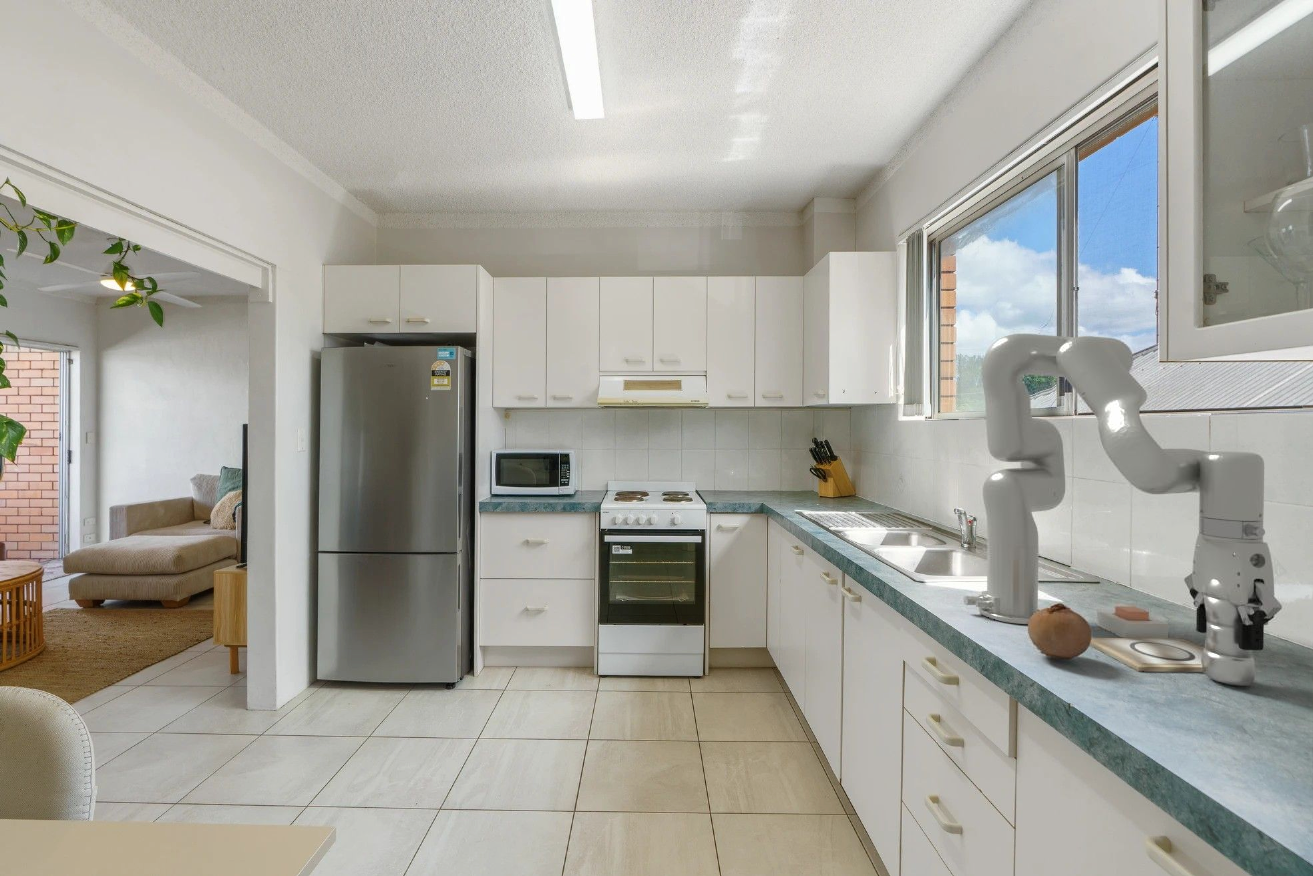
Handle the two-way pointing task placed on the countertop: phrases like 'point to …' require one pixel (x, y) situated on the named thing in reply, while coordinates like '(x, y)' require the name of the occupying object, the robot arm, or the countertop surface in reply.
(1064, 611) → the onion
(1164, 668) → the board
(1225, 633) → the plastic bottle
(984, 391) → the robot arm
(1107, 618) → the button housing
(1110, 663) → the countertop surface
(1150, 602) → the countertop surface
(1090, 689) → the countertop surface
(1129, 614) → the button
